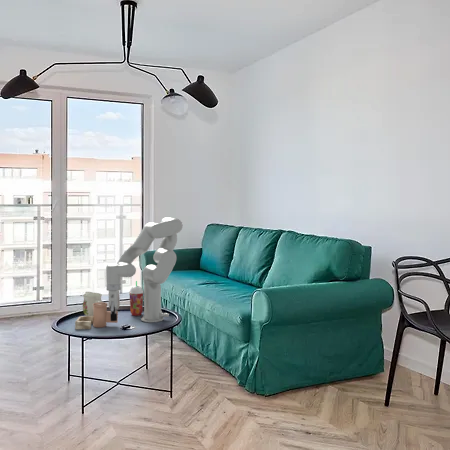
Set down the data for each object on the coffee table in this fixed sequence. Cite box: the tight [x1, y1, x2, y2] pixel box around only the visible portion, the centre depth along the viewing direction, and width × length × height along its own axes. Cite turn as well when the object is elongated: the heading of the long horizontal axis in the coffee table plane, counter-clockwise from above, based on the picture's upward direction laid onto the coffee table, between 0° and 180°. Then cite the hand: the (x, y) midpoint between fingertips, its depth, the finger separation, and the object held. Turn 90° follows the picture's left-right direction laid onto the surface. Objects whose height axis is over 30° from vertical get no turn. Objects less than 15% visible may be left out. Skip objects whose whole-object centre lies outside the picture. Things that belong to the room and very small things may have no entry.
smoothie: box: [128, 280, 144, 317], centre depth 299 cm, size 8×8×20 cm
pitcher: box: [82, 291, 103, 316], centre depth 291 cm, size 11×18×14 cm, turn 39°
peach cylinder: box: [92, 301, 119, 328], centre depth 275 cm, size 13×8×12 cm, turn 95°
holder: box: [74, 315, 93, 330], centre depth 274 cm, size 8×11×4 cm
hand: (114, 320), depth 276 cm, fingers closed on peach cylinder, 1 cm apart
